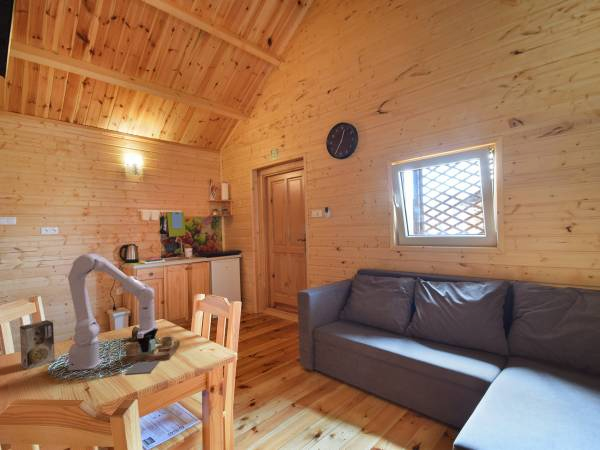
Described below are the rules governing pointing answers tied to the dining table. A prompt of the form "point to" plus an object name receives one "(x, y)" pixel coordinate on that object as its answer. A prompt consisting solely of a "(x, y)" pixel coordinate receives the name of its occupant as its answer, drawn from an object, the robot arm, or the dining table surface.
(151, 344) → the cube
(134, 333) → the kendama
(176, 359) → the dining table surface
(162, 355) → the lane board
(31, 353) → the coffee box
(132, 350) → the strip
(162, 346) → the strip
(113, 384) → the dining table surface
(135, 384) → the dining table surface
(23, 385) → the dining table surface
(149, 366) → the felt pad
